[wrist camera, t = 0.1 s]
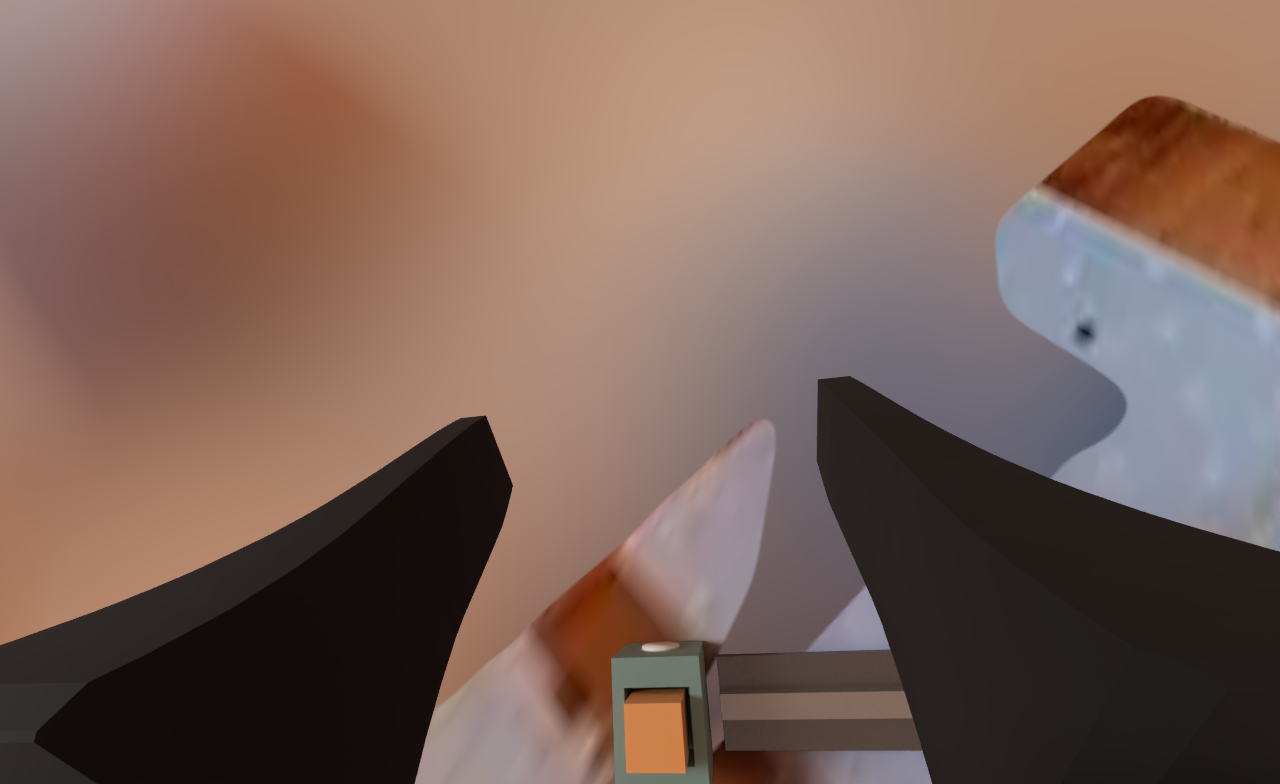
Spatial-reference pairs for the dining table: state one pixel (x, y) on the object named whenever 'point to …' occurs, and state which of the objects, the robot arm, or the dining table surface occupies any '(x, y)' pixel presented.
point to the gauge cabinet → (664, 671)
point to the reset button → (656, 731)
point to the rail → (814, 702)
